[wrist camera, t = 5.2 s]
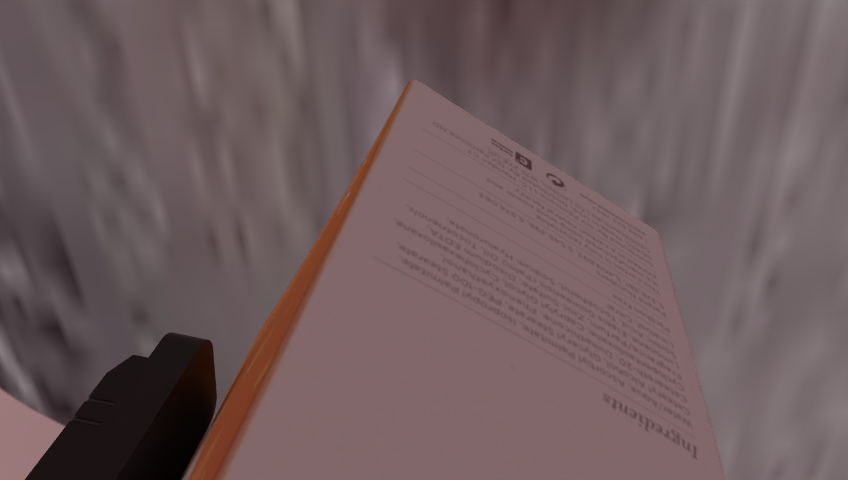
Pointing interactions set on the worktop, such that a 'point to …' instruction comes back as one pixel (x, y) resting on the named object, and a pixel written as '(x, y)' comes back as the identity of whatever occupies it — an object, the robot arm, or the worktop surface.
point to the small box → (468, 330)
